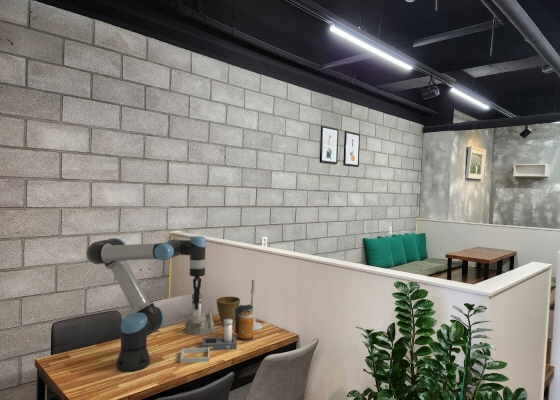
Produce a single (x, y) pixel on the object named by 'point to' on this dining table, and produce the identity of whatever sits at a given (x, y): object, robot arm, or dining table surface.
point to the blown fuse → (198, 318)
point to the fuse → (228, 330)
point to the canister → (244, 322)
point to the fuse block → (219, 343)
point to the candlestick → (256, 325)
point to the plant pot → (227, 308)
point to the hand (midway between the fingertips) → (196, 313)
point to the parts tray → (195, 359)
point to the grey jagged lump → (200, 325)
